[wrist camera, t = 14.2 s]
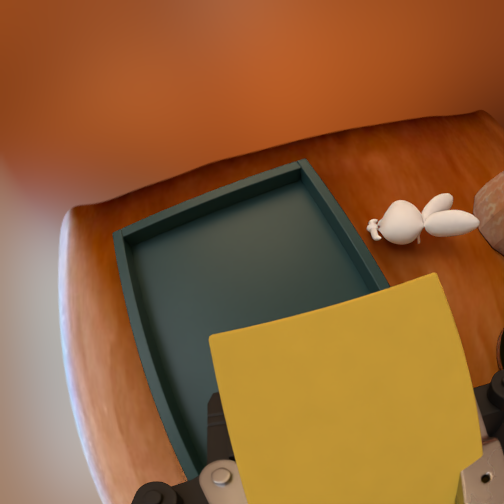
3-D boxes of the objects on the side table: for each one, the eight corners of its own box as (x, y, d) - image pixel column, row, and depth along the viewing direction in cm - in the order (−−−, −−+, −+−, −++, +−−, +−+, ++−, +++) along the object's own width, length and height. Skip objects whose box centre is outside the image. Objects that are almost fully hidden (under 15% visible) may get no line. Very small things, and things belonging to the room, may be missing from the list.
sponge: (275, 471, 11) (274, 584, 2) (250, 368, 14) (206, 334, 5) (368, 444, 12) (485, 497, 3) (342, 343, 14) (436, 269, 5)
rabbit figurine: (361, 197, 22) (452, 176, 18) (373, 240, 23) (458, 221, 19) (362, 229, 17) (479, 202, 13) (374, 281, 18) (482, 257, 14)
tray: (210, 500, 13) (203, 510, 11) (122, 244, 21) (111, 232, 19) (430, 397, 14) (444, 397, 13) (304, 173, 23) (305, 157, 21)
